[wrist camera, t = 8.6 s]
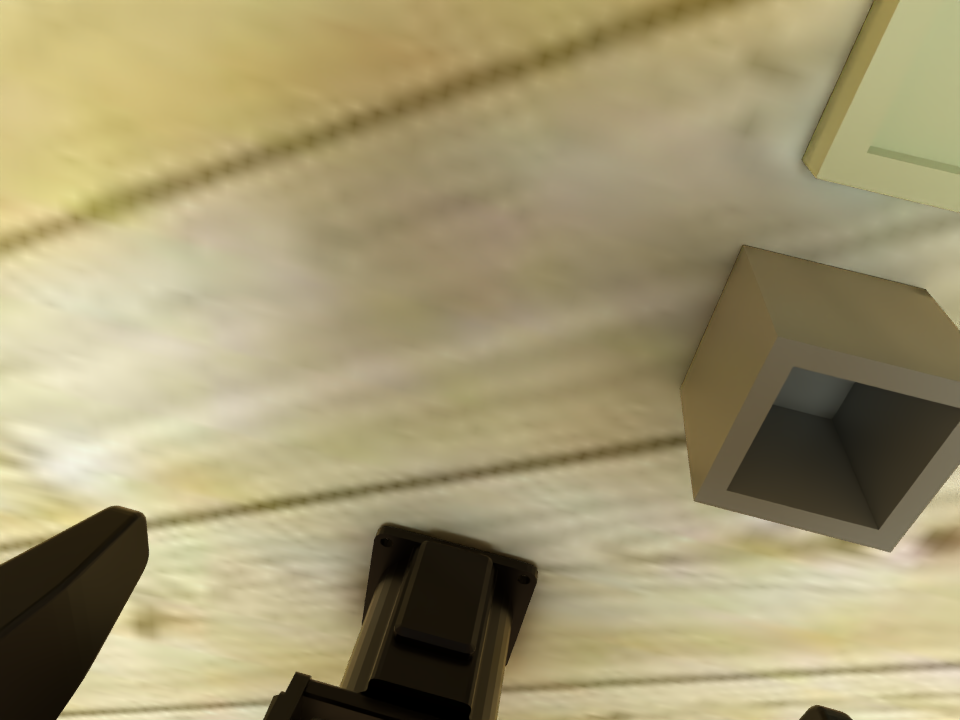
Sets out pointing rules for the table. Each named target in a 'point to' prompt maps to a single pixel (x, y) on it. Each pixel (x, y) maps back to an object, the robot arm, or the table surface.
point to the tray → (897, 107)
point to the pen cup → (823, 400)
